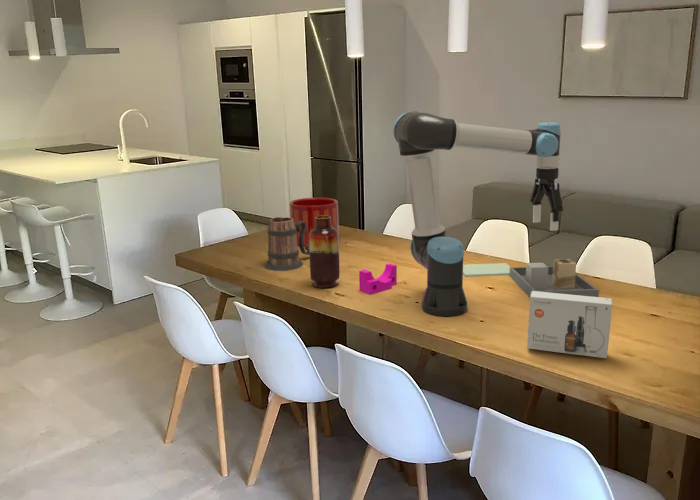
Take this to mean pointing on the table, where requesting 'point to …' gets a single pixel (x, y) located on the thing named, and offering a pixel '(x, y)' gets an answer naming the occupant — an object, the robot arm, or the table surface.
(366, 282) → the toy block
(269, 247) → the tankard
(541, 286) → the grey box
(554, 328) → the skincare box
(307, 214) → the planter
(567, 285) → the maple box
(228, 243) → the table surface
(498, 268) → the mat
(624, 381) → the table surface
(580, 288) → the parts bin
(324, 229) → the vase
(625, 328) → the table surface
